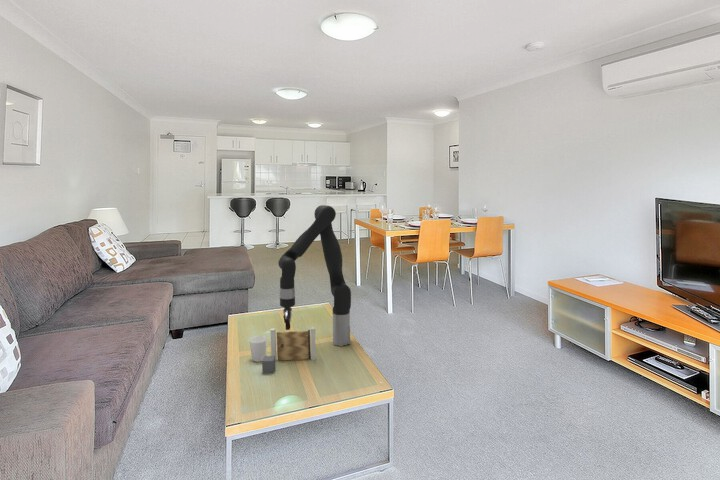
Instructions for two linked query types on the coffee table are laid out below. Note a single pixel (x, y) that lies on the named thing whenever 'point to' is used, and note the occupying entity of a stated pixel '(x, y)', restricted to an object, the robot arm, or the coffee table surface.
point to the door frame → (313, 346)
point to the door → (293, 345)
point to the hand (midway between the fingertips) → (287, 329)
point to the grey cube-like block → (268, 364)
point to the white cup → (258, 348)
